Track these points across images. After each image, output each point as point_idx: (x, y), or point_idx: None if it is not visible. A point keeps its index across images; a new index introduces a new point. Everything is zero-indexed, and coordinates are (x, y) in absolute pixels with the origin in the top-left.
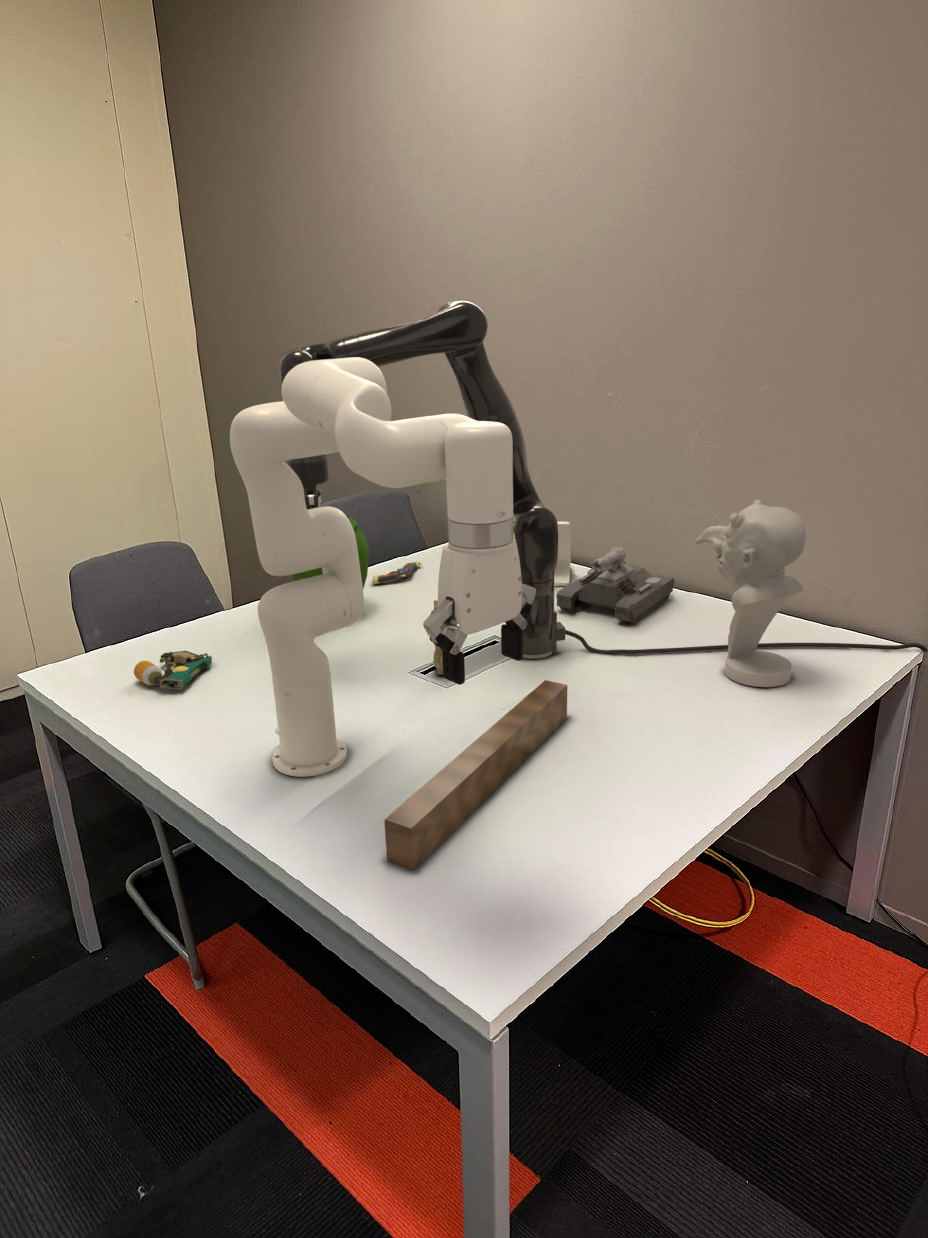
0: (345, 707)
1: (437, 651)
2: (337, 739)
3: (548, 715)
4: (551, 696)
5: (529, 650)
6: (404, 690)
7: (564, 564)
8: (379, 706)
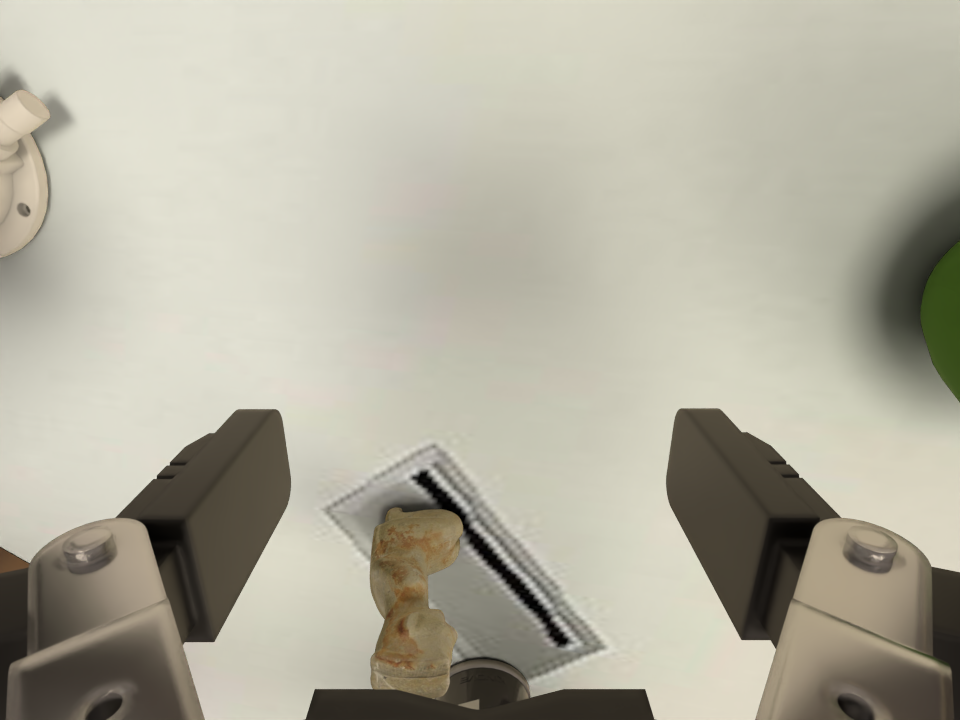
0: (245, 272)
1: (383, 549)
2: (14, 243)
3: None
4: None
5: (438, 698)
6: (327, 422)
7: None
8: (242, 356)
